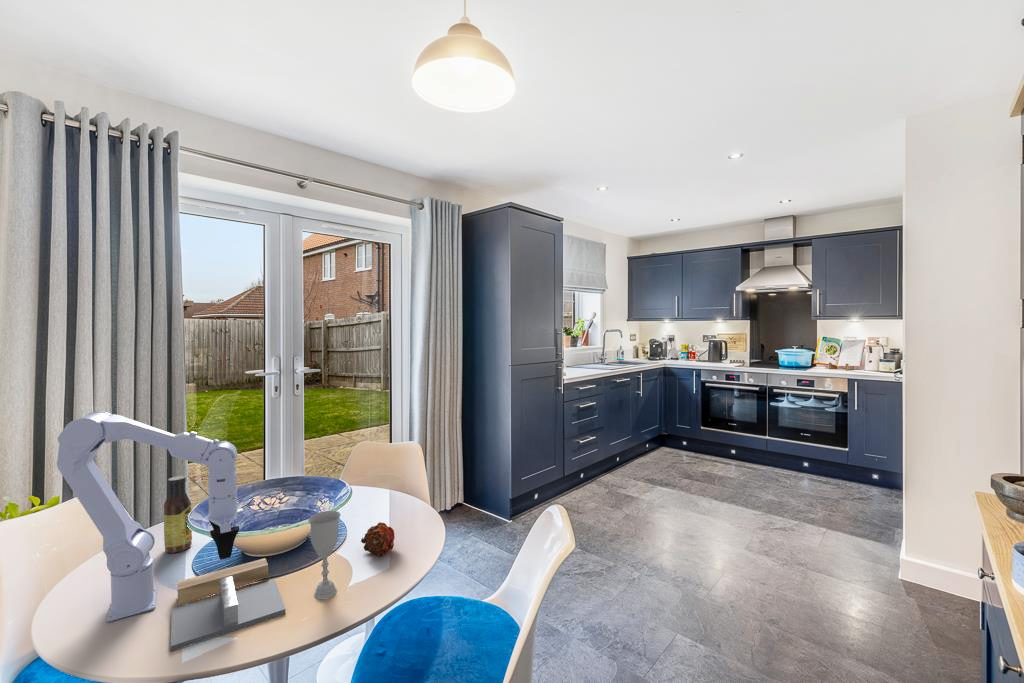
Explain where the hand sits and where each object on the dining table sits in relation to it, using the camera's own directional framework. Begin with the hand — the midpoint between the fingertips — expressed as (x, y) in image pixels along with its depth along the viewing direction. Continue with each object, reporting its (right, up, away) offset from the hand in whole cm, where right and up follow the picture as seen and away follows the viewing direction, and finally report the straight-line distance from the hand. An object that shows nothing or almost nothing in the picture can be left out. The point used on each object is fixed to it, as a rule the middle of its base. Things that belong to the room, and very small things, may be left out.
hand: (224, 551), depth 109 cm
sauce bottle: (-25, -8, +19) cm, 33 cm away
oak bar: (0, -9, 0) cm, 9 cm away
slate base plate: (+7, -9, -9) cm, 15 cm away
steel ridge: (+7, -9, -9) cm, 15 cm away
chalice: (+25, -9, -2) cm, 26 cm away
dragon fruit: (+32, -9, +18) cm, 37 cm away
